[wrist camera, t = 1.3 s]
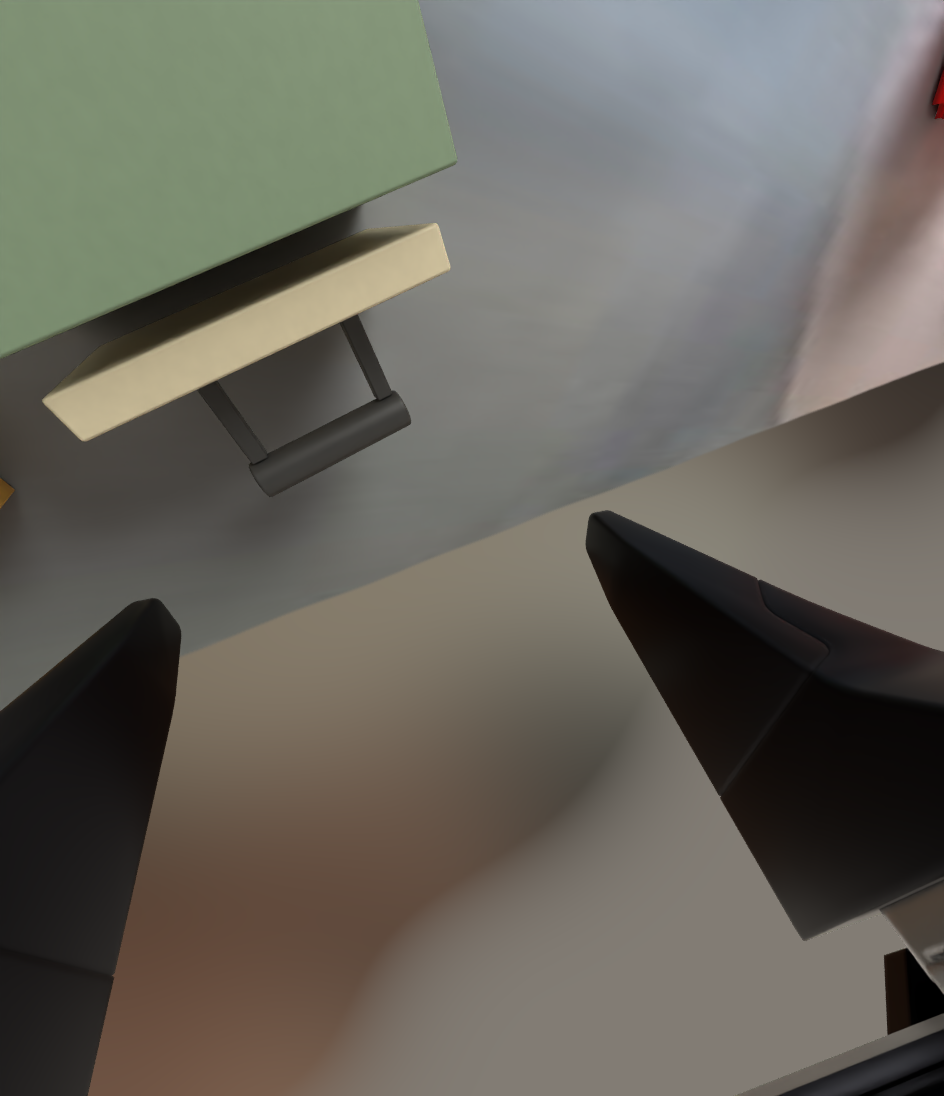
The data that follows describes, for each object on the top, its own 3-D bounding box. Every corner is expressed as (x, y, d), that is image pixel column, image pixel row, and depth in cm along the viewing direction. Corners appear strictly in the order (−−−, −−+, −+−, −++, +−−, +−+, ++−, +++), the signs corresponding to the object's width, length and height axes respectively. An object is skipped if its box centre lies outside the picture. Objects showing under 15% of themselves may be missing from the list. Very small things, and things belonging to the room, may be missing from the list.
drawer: (423, 371, 21) (494, 414, 16) (209, 479, 20) (208, 568, 14) (149, -349, 10) (78, -1021, 5) (-401, -242, 8) (-1486, -1100, 3)
